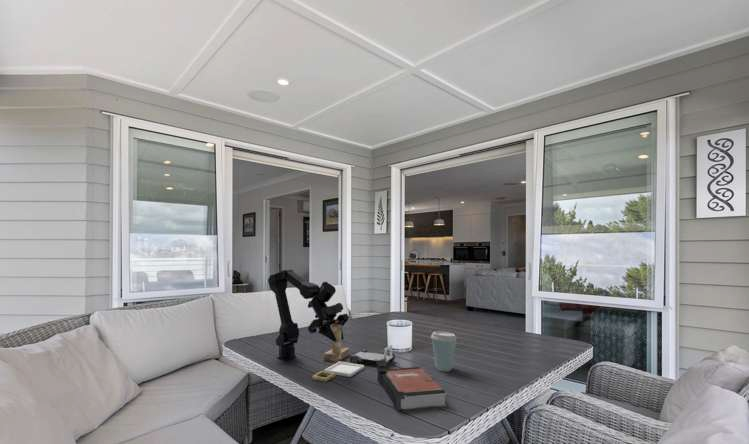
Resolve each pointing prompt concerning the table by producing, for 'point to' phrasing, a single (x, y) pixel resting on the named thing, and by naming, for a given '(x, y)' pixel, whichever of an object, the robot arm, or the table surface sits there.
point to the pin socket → (317, 377)
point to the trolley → (374, 357)
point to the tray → (344, 369)
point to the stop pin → (336, 345)
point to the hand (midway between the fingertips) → (339, 340)
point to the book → (411, 388)
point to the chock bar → (329, 358)
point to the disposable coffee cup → (443, 349)
